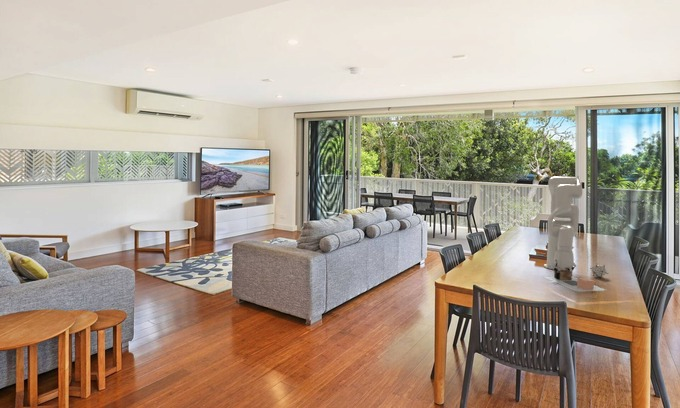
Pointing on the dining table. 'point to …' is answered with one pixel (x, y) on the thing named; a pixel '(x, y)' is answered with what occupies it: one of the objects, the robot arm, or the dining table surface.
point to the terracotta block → (585, 283)
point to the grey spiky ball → (599, 270)
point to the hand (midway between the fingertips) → (562, 278)
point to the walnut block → (564, 274)
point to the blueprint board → (572, 284)
